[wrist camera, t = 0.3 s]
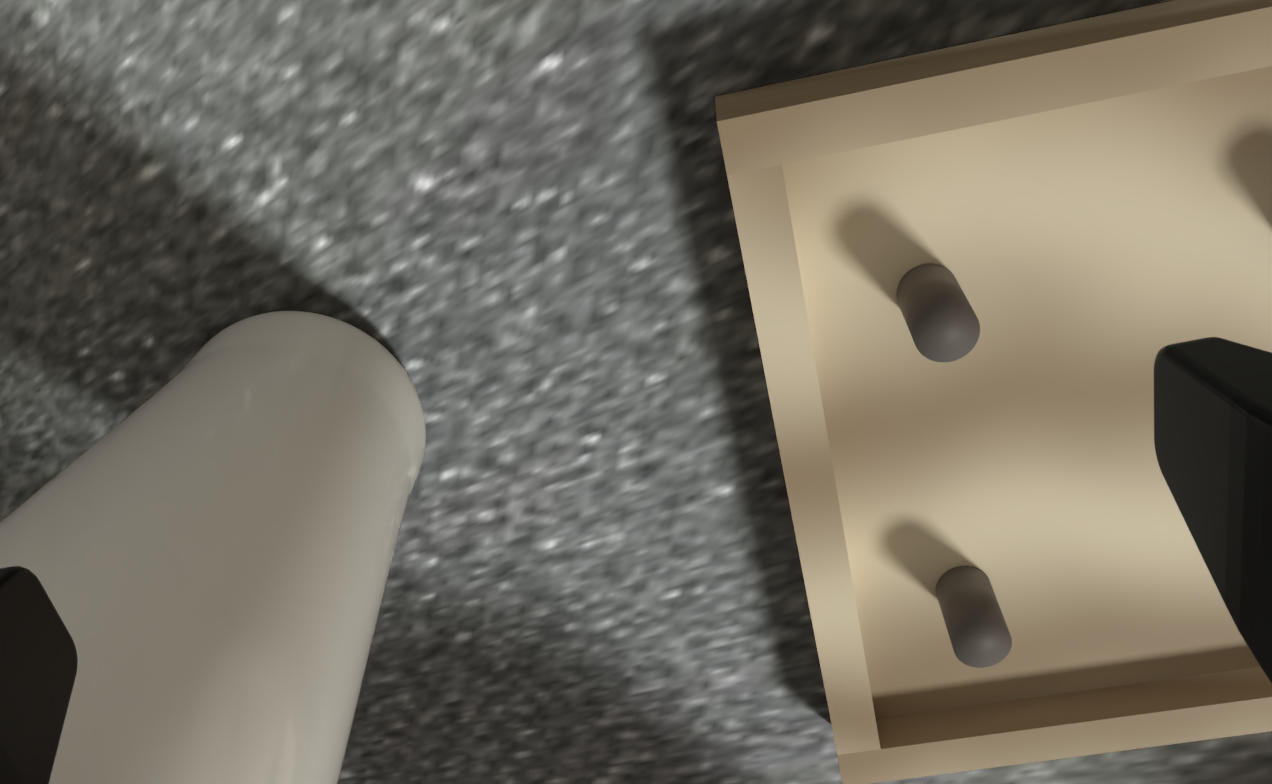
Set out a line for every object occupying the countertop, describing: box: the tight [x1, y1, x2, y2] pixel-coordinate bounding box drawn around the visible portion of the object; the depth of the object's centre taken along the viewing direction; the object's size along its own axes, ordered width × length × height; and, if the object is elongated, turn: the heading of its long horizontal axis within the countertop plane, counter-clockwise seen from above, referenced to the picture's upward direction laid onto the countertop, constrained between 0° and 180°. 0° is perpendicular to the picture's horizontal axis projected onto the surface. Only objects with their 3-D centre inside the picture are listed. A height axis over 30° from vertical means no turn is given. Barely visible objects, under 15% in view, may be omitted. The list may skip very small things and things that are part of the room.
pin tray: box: [715, 0, 1272, 784], centre depth 24 cm, size 16×14×3 cm
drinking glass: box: [0, 311, 426, 784], centre depth 20 cm, size 7×7×15 cm
